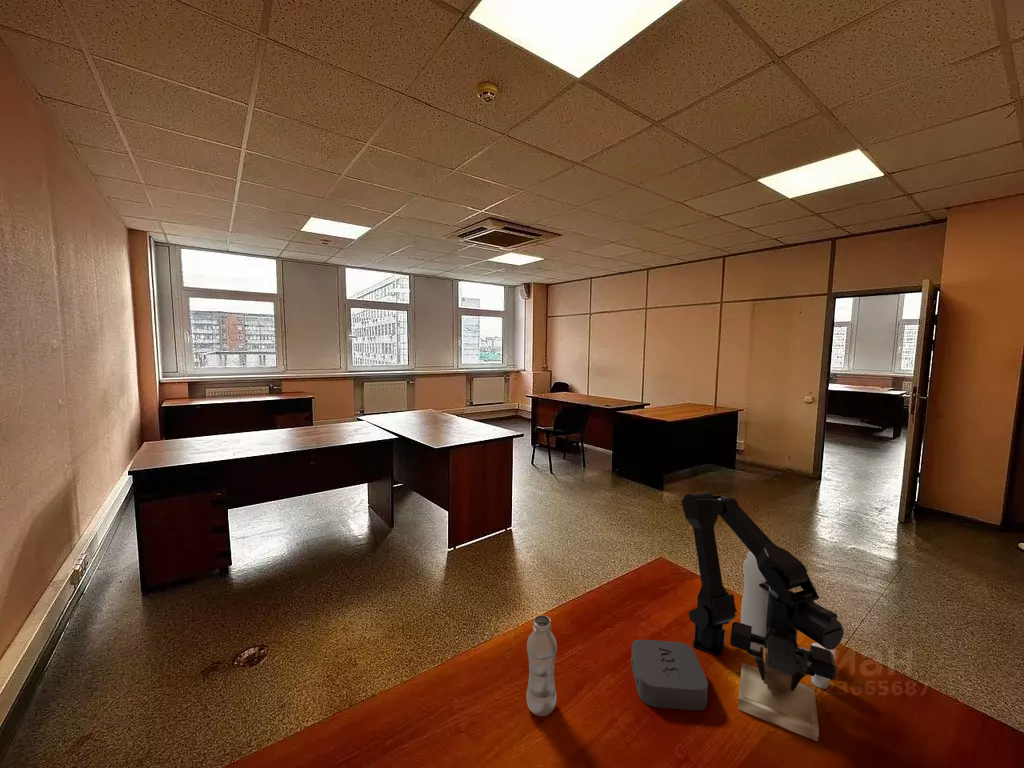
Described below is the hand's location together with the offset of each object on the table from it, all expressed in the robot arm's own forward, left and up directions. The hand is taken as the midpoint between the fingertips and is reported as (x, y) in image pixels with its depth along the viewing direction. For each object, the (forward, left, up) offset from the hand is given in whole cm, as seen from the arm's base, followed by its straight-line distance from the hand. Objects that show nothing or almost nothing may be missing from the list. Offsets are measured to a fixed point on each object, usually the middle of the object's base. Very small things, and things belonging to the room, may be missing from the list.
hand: (777, 684), depth 92 cm
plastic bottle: (-43, -28, -5) cm, 51 cm away
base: (0, 0, -4) cm, 4 cm away
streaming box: (-21, -7, -5) cm, 23 cm away
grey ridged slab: (-5, +23, -5) cm, 24 cm away
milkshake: (+9, +12, -5) cm, 16 cm away
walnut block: (0, +3, -1) cm, 3 cm away
